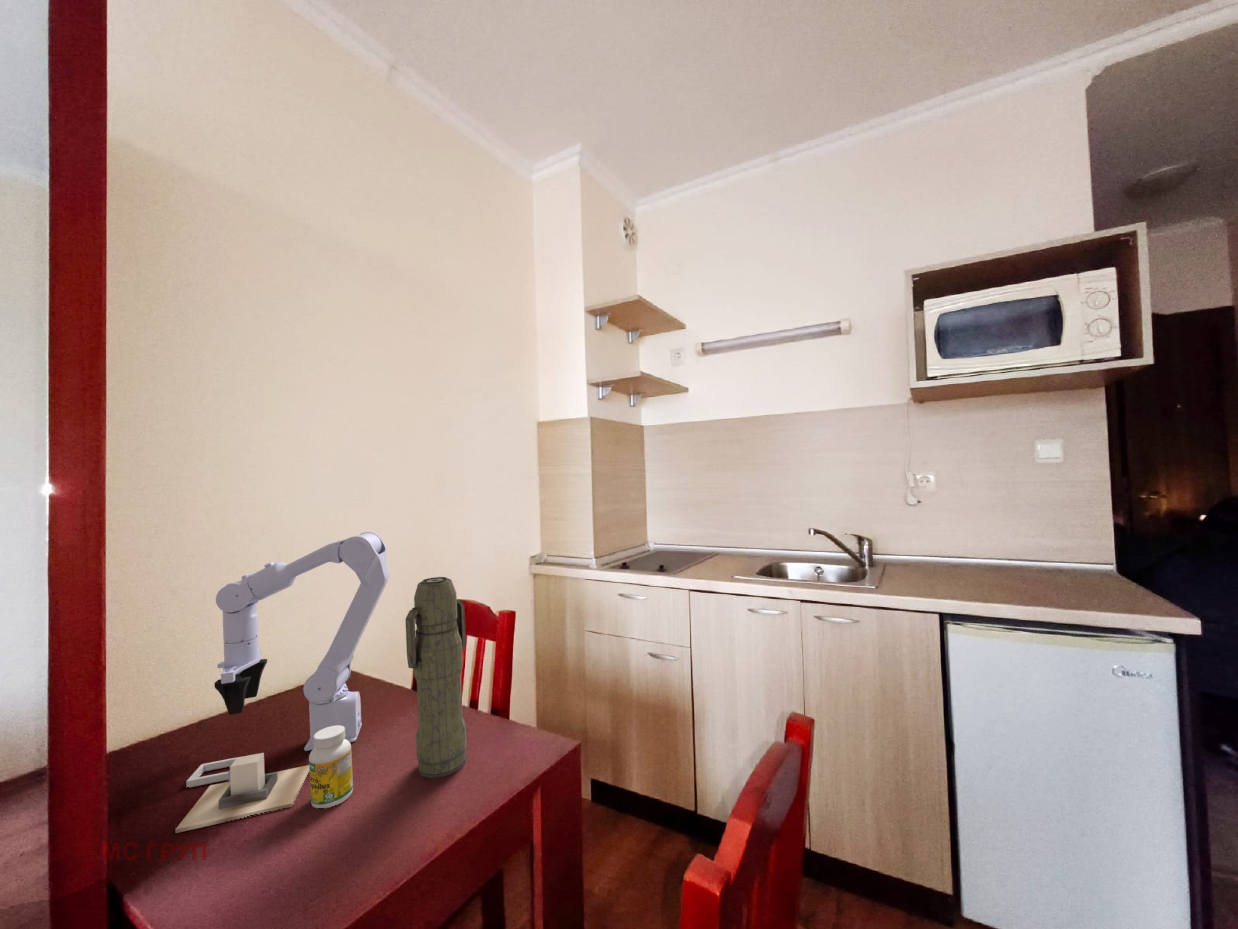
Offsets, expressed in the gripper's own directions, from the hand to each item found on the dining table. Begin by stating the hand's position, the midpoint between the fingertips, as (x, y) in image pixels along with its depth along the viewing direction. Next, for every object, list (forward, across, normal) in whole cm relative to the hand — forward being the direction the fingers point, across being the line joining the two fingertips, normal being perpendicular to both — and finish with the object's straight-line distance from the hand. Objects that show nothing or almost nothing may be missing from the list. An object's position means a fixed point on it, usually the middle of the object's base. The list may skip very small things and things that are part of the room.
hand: (243, 705), depth 103 cm
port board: (+9, +19, +7) cm, 22 cm away
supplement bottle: (+10, +25, +21) cm, 34 cm away
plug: (+9, +19, +7) cm, 22 cm away
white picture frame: (+9, +8, -2) cm, 13 cm away
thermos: (+10, +22, +39) cm, 46 cm away
